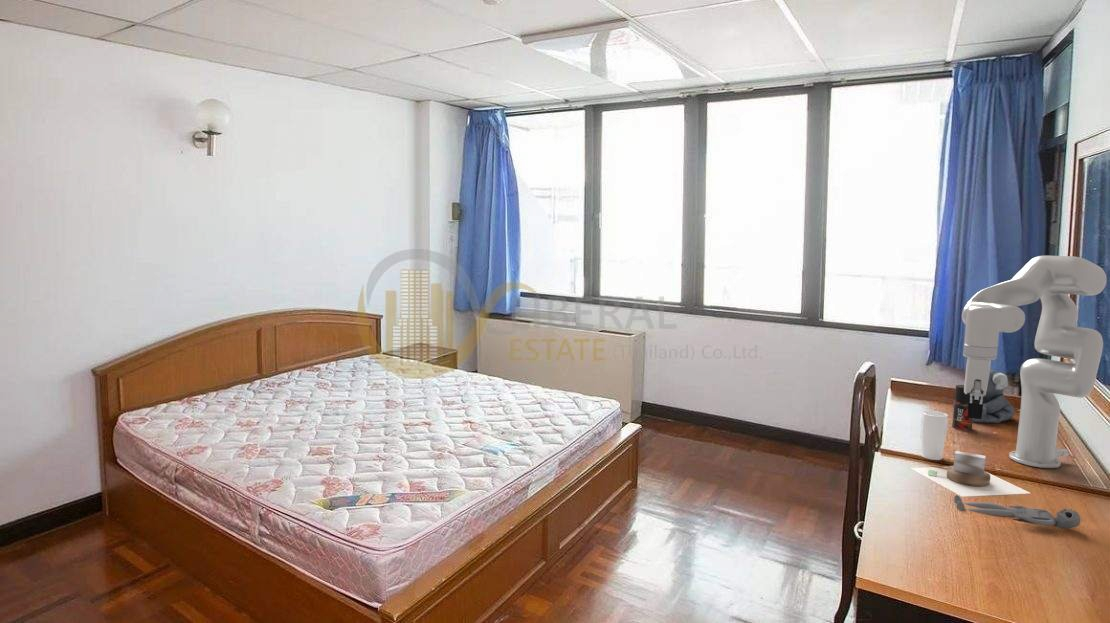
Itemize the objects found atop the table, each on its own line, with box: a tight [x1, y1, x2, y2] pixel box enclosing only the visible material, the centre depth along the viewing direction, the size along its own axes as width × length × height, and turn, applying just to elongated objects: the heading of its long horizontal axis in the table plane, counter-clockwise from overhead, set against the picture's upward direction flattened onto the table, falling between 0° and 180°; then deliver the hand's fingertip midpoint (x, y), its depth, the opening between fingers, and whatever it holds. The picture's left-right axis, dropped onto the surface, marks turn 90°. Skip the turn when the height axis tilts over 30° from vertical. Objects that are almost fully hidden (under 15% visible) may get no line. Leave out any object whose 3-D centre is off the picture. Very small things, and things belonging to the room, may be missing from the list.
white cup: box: [920, 410, 949, 461], centre depth 193 cm, size 7×7×15 cm
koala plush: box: [952, 368, 1015, 424], centre depth 240 cm, size 17×18×20 cm
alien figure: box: [953, 494, 1081, 530], centre depth 155 cm, size 8×5×25 cm
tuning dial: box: [929, 450, 991, 486], centre depth 177 cm, size 14×10×7 cm
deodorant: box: [951, 384, 973, 431], centre depth 227 cm, size 6×6×15 cm
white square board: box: [909, 465, 1032, 498], centre depth 176 cm, size 20×20×2 cm
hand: (974, 413), depth 174 cm, fingers open, 9 cm apart
